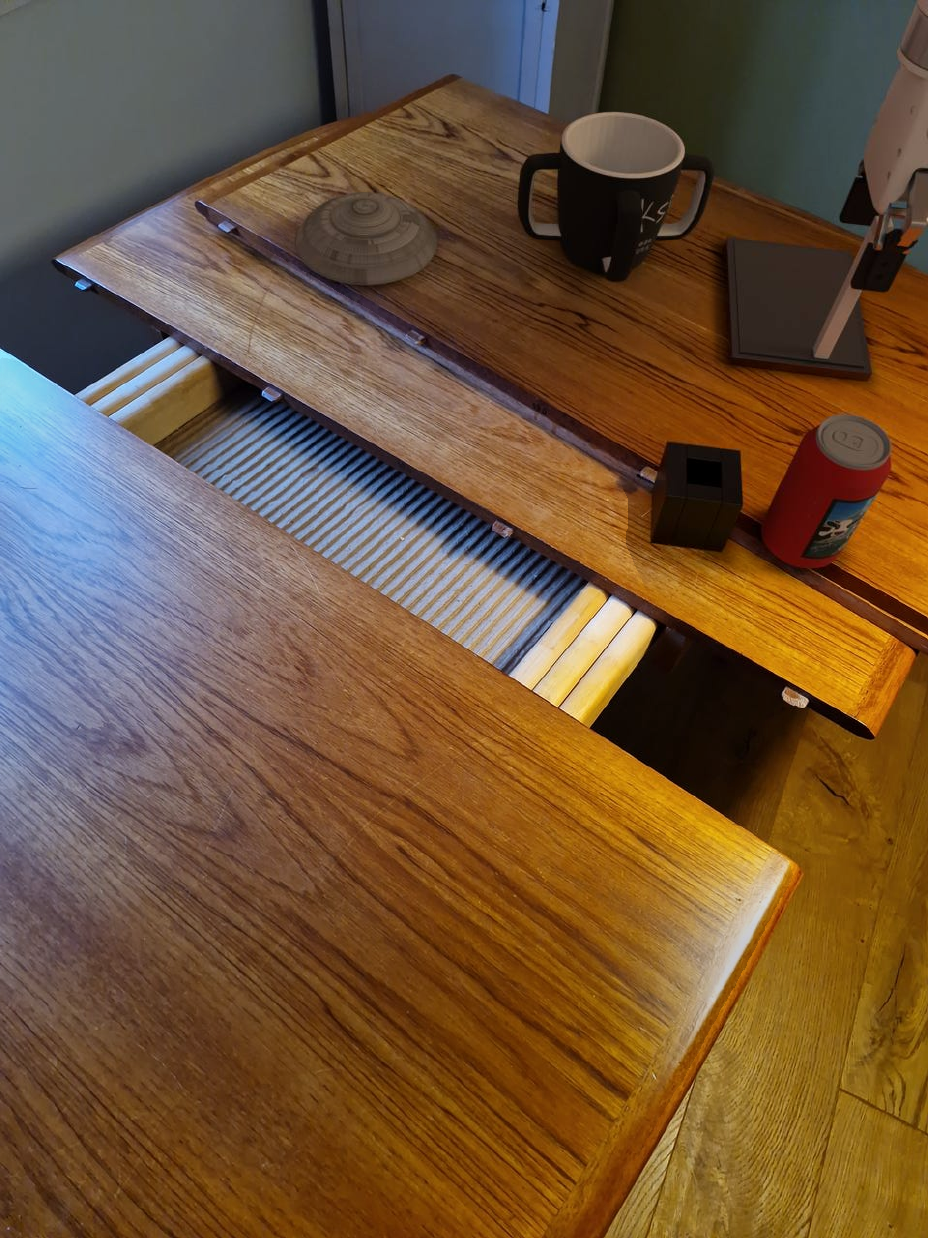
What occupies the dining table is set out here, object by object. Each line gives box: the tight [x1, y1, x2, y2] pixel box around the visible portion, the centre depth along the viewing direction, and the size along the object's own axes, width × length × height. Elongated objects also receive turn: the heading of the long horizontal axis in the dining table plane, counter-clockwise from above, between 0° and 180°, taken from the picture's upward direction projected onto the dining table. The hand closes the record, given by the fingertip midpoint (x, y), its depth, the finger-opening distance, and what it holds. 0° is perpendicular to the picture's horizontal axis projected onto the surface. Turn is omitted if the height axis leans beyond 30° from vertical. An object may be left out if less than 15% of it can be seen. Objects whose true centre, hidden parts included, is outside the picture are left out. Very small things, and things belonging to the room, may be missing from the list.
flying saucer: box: [294, 191, 439, 286], centre depth 93 cm, size 15×15×6 cm
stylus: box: [813, 216, 894, 359], centre depth 81 cm, size 1×1×14 cm
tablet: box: [723, 236, 873, 382], centre depth 92 cm, size 14×20×1 cm
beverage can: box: [760, 413, 892, 569], centre depth 70 cm, size 7×7×12 cm
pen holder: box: [649, 440, 744, 554], centre depth 74 cm, size 6×6×6 cm
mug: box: [517, 111, 715, 283], centre depth 92 cm, size 16×16×12 cm
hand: (861, 254), depth 78 cm, fingers open, 9 cm apart
